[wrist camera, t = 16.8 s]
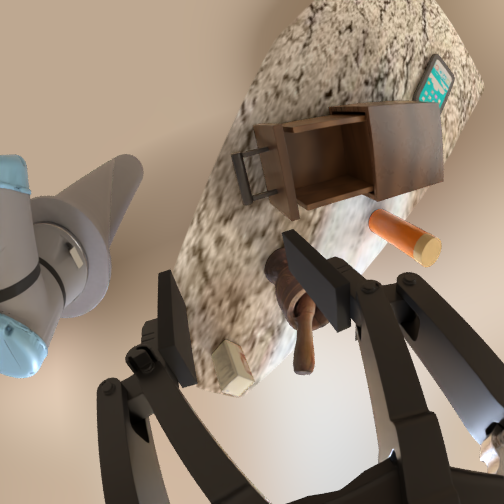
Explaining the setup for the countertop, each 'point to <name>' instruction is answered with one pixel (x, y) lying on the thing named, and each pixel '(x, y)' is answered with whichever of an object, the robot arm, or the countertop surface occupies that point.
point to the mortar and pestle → (295, 310)
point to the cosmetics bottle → (232, 369)
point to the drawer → (310, 162)
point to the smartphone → (435, 83)
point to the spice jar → (406, 237)
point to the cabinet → (401, 144)
